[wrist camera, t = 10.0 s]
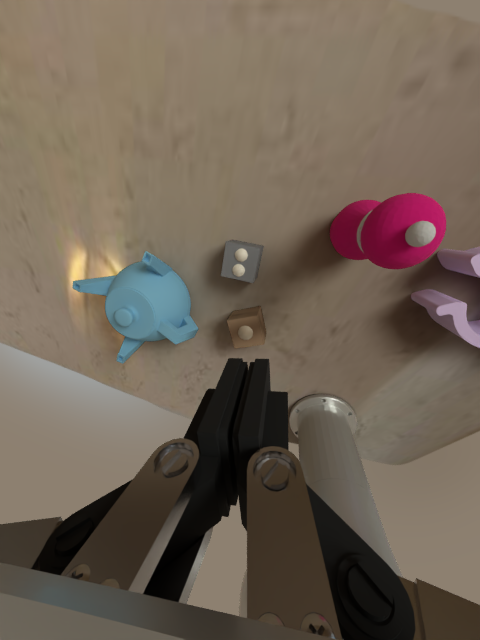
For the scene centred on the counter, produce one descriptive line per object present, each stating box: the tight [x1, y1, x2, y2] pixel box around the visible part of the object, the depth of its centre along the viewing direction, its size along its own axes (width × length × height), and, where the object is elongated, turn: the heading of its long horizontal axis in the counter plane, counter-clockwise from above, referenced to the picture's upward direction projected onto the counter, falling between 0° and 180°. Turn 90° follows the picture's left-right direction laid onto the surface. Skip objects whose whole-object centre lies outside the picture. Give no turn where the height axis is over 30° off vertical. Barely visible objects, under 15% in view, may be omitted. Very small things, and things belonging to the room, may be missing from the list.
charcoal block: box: [221, 240, 264, 283], centre depth 37 cm, size 5×5×5 cm
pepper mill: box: [330, 193, 446, 269], centre depth 26 cm, size 7×7×20 cm
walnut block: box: [227, 306, 266, 349], centre depth 40 cm, size 5×5×5 cm
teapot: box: [73, 251, 198, 364], centre depth 40 cm, size 15×15×11 cm
